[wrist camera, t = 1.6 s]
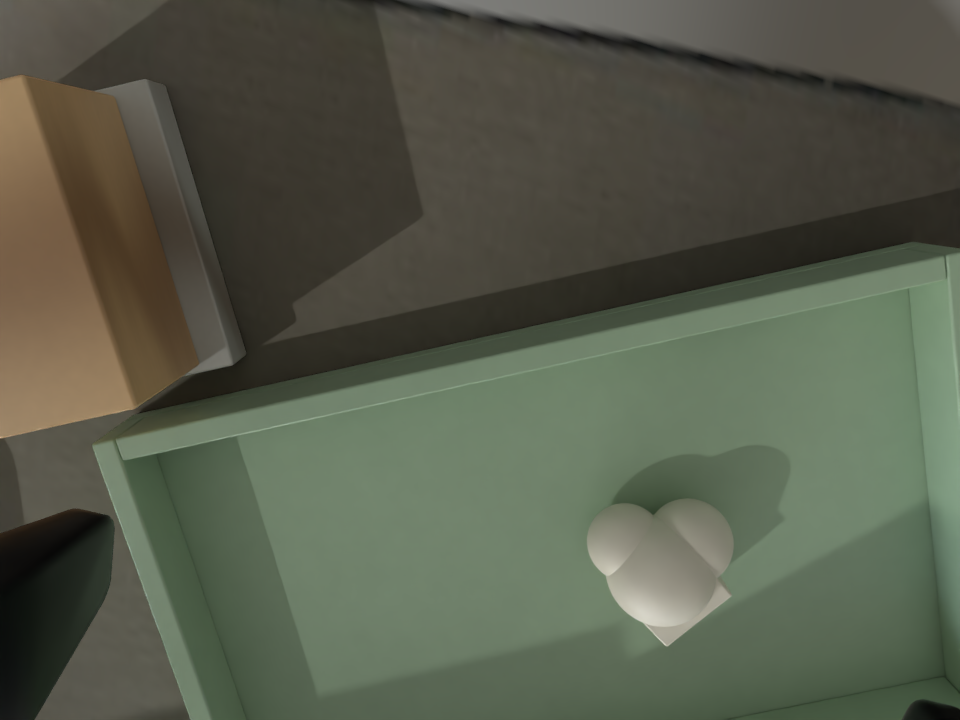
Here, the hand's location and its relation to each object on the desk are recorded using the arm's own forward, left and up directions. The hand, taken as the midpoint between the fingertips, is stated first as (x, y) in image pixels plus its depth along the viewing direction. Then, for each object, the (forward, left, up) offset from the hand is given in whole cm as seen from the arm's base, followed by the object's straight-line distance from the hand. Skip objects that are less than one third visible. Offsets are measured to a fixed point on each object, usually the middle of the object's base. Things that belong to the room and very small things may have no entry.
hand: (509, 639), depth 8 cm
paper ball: (+3, -6, -12) cm, 14 cm away
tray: (+1, -6, -13) cm, 14 cm away
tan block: (-9, +5, -13) cm, 16 cm away
